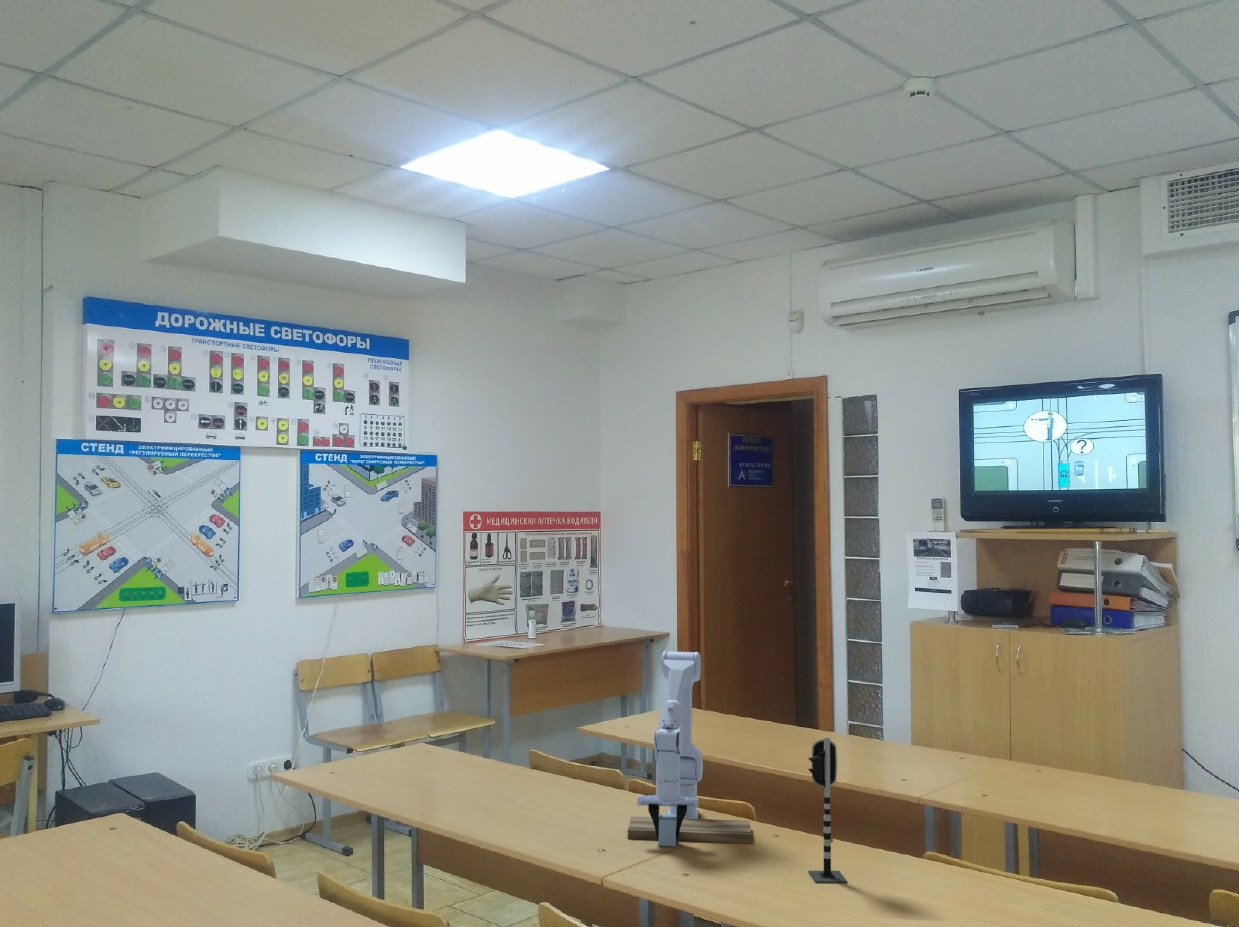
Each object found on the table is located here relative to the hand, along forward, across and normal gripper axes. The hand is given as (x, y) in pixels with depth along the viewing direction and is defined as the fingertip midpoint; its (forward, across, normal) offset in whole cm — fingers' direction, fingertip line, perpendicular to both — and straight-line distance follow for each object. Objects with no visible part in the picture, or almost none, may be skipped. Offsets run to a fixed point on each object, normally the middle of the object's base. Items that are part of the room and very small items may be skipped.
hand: (667, 836), depth 240 cm
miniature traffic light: (+2, +35, -19) cm, 40 cm away
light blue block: (+1, 0, +2) cm, 2 cm away
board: (+2, +5, +9) cm, 10 cm away
